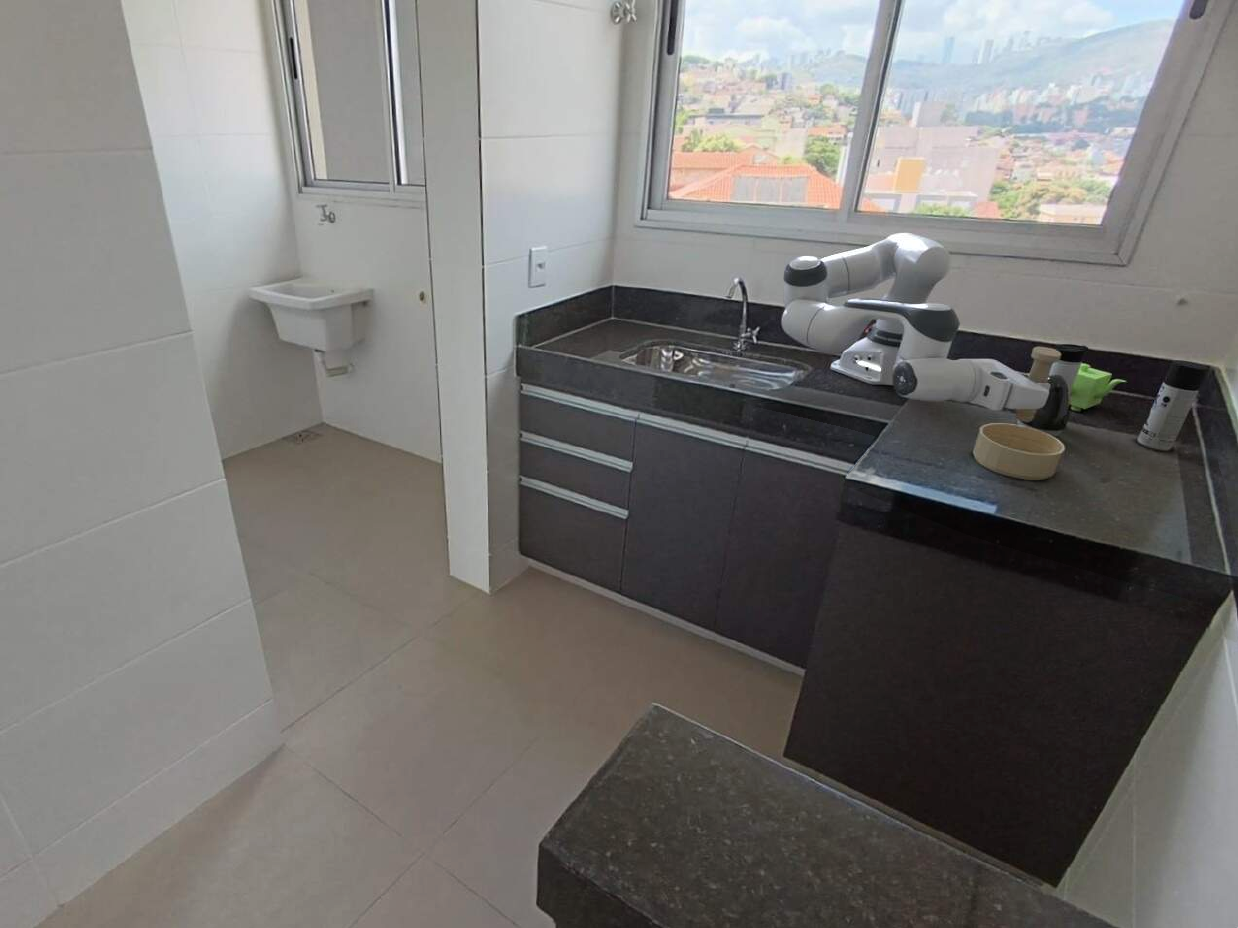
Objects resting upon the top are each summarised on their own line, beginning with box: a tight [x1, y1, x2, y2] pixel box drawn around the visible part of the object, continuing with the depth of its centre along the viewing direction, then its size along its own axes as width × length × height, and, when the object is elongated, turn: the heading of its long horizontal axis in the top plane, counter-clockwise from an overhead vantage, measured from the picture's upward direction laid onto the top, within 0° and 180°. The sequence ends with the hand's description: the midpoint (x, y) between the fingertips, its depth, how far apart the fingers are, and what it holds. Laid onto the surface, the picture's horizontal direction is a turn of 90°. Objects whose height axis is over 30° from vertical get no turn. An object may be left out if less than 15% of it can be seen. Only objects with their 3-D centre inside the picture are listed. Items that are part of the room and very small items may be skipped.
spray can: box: [1137, 359, 1209, 452], centre depth 155 cm, size 7×7×20 cm
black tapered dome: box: [1017, 375, 1071, 438], centre depth 158 cm, size 10×10×15 cm
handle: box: [1014, 346, 1061, 422], centre depth 139 cm, size 5×6×15 cm
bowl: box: [972, 422, 1066, 481], centre depth 145 cm, size 16×16×6 cm
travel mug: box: [1049, 343, 1089, 393], centre depth 164 cm, size 6×7×20 cm
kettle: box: [1070, 362, 1127, 412], centre depth 179 cm, size 15×14×11 cm
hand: (1040, 382), depth 139 cm, fingers closed on handle, 3 cm apart
